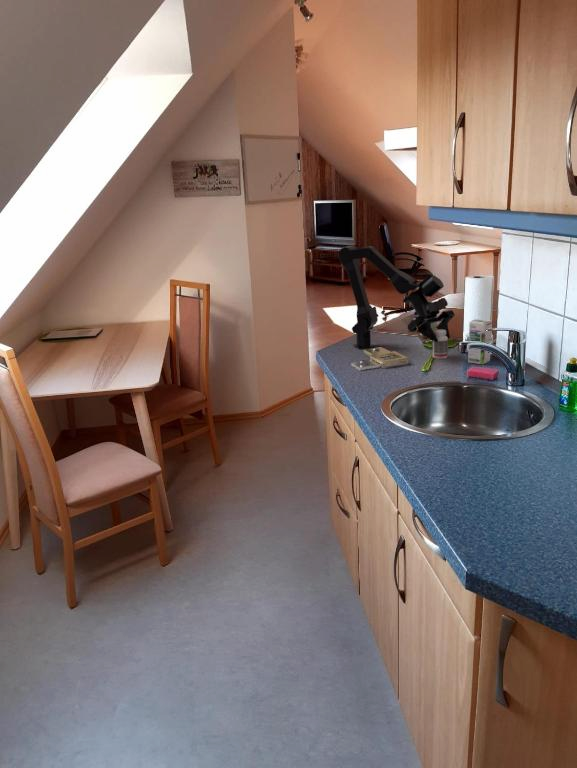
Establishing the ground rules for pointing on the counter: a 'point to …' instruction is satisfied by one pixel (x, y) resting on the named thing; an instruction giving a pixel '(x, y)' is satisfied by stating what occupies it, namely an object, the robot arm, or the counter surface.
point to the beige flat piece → (380, 359)
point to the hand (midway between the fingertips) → (443, 339)
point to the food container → (423, 337)
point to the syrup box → (479, 334)
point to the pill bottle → (440, 345)
